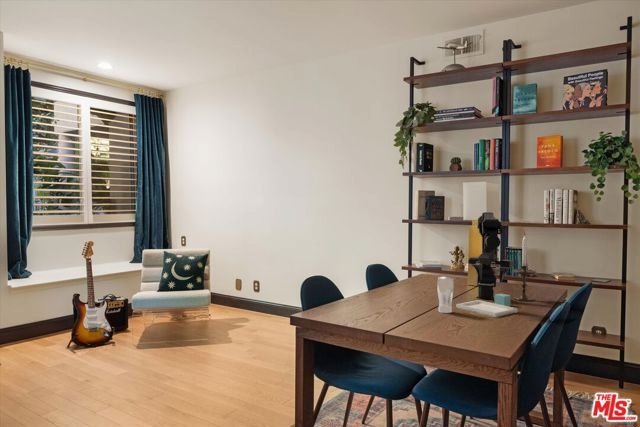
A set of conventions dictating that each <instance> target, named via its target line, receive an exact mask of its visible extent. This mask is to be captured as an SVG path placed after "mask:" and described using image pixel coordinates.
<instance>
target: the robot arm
mask: <svg viewBox="0 0 640 427" xmlns="http://www.w3.org/2000/svg"><path fill="white" fill-rule="evenodd" d="M476 226H477V229H478V234H479V236H480V237H481V254H479V255H478V256H476V257H475V256H473V257H472V256H471V257H469V258H468V264H469V265H471V267H473V268H474V269H475V270H476V273H477V274H476V286H477V287H478V290H477V291H478V293H477V294H478V296H476V298H477V299H479V300H480V299H481V300H484V301H485V300H486V301H489V300H494V296H495V294H494V292H495V290H494V288H496V287H497V281H498V280H497V279H498V278H497V277H496V275H495V272H494V269H493V268H492V265H495V266H496V265H497V266H500V267H499V283H502V282H503V280H504V278H505V275H506V274H507V272H508V270H510V269H511V268H514V266H515V262H514V260H513V259H501V260H499V257H498V256H499V255H498V254H499V253H498V252H499V251H500V249H499V246H501V239H500V237H499V236H498V235H502V233H503V224H502V221H500V219H499V218H496V217H495V216H494V213H493V212H489V211H488V212H487V211H485V212H482V213H481V216H479V217H478V218H477V225H476Z"/></svg>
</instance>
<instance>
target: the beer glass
mask: <svg viewBox="0 0 640 427" xmlns="http://www.w3.org/2000/svg"><path fill="white" fill-rule="evenodd" d="M436 283H437V285H436V287H437V289H436V290H437V296H438V308H437V312H438V313H441V314H452V313H453V308H452V307H453V306H452V302H453V296H454V290H455V285H454V284H455V282H454V277H451V276H438V277H437V282H436Z"/></svg>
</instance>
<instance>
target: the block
mask: <svg viewBox="0 0 640 427" xmlns="http://www.w3.org/2000/svg"><path fill="white" fill-rule="evenodd" d="M493 300H494V302H493V303H494V304H499V305H504V306H509V307H511V294H505V293H495V294H494V299H493Z"/></svg>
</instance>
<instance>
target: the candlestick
mask: <svg viewBox="0 0 640 427" xmlns="http://www.w3.org/2000/svg"><path fill="white" fill-rule="evenodd" d="M522 232H523V238H522V256H521V257H522V258H521V260H522V261H521V264H520V265H519V266H520V267H521V268H515V269H512V270H511V272H512V273H513V274H517V275H521V277H522V282H521V284H520V286H521V288H520V291H521V292H522V293H521V295H516V296H513V300H515V301H518V300H519V302H534V300H535V299H534V298H533V297H532V296H527V294H526V291H527V288H526V287H527V286H528V284H527V283H526V277H527V276H529V275H536V274H537V271H536V270H534V269H527V267H529V265H528V264H527V254H528V253H527V252H528V250H527V246H528V244H527V241H528V239H527V237H526V231H525V230H524V229H523V230H522Z"/></svg>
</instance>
